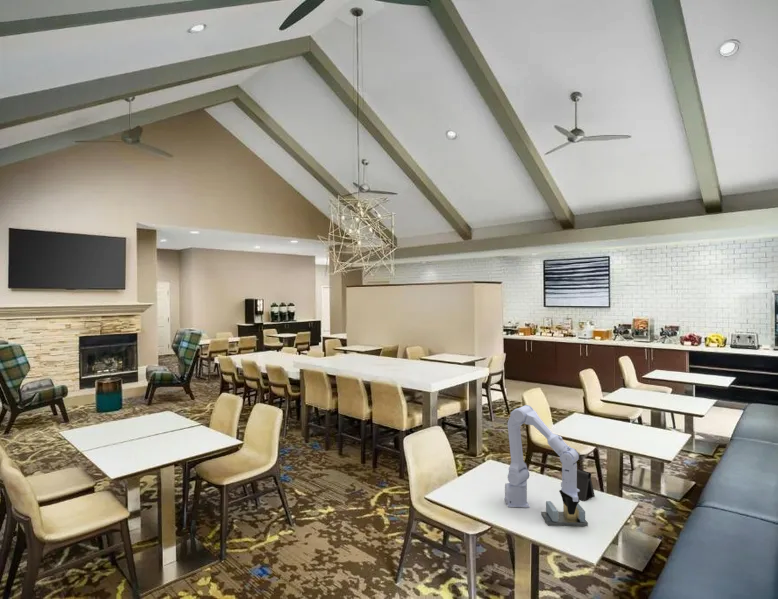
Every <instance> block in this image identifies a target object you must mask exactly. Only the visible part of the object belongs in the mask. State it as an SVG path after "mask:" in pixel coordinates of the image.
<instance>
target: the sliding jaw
mask: <svg viewBox="0 0 778 599" xmlns="http://www.w3.org/2000/svg"><path fill="white" fill-rule="evenodd" d="M545 512H547V513H548V515H549V516H550V518H551V519H552V521H556V522H558V514H559V512H560V511H559V510H558V509H557V507H556V505H555V504H554V503H553V502H552V501H551V500H546V501H545Z"/></svg>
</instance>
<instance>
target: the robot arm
mask: <svg viewBox="0 0 778 599" xmlns="http://www.w3.org/2000/svg"><path fill="white" fill-rule="evenodd" d="M509 414H510V415H509V418H508V420H507V432H508V443H509V454H510V464H509V467H508V474H507V481H508V482H507V483H505V484H504V502H505V504H506V505H507V507H508V508H530V507H531V506H530V504H529V503H528V479H529V478H530V471H529V470H528V466H527V463H526V462H525V461H524V452H523V442H522V434H521V433H522V432H521V426H523V425H524V424H525V425H528V426H532V427H534V428H535V429H536V430H537V431H539V433H540V434H541V435H543V437H545V438H546V440H547V442H546V443H547V444H548V446H549V447H550V448H551V449H552V450H553V451H554V452H555V453H556V454H557V456H559V461H560V463H561V482H560V487H561V489H559V493H560V496H561V499H562V503H563V502H564V503H567V507H568V513H569V514H570V515H574V513H575V510H576V506H577V504H579V502H580V501H581V500H580V499H579V498H578V496H577V492H580V490H579V489H577V469H578V464H577V462H578V460H580V454H579V453H578V451H577V450H576V449H575V448H573V447H571V445H568V444H567V443H566V442H565V440H564V439H563V437H562V436H561V435H559V434H556V433H553V432H552V431H551V429H550V428H549V427H548V426H547V425H546V424H545V422H544V421H543V420H542V418H540V416H539V415H538V413H537V410H535V409H534V408H533V407H532V406H531V405H528V404H525V405H523V406H520V407H518V408H514V409H513V410H512V411H511V412H509Z"/></svg>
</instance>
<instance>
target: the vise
mask: <svg viewBox="0 0 778 599" xmlns="http://www.w3.org/2000/svg"><path fill="white" fill-rule="evenodd" d="M576 507H577V520H569V519H566V517H565V516H564V515H563V511H559V514H558V522H556V521H552V519H551V518H550V516H549V515H548V513H547V512H546V511H541V512H540V516H541V517H542V519H543V521H544V522H545V523H546V525H547V527H588V525H589V523H588V521H587V519H586V511H585V510H584V508H583V507H582V506H581V505H580V504H579V503H578V504H577V506H576Z"/></svg>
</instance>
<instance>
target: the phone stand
mask: <svg viewBox="0 0 778 599" xmlns="http://www.w3.org/2000/svg"><path fill="white" fill-rule="evenodd" d="M577 489H579V490H580V492H577V496H578V498H579V499H580V501H582V502H587V501H589V500H590V499H593V498H594V497H595V496H596V495H595V490H594V487H593V482H592V473H591V472H589V471H586V470H582V469H580V468H577Z"/></svg>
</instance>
